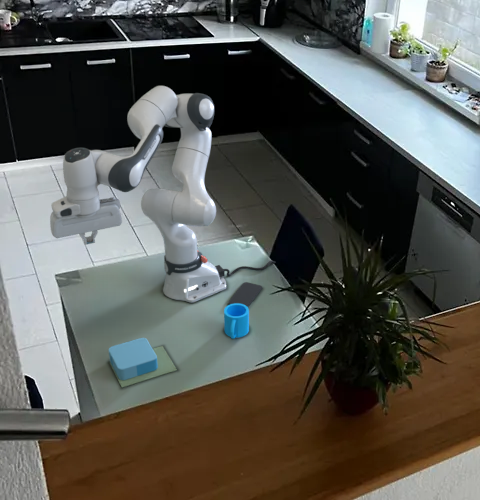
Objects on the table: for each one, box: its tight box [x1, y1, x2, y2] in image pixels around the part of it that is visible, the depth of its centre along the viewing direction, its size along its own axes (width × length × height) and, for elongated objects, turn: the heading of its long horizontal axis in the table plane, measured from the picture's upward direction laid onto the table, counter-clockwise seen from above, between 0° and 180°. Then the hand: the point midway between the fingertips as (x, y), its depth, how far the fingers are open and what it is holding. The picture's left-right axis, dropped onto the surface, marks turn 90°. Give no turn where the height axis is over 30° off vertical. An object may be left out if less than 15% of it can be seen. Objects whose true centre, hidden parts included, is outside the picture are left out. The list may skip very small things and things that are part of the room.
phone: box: [227, 281, 263, 308], centre depth 250 cm, size 7×1×15 cm
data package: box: [108, 337, 158, 380], centre depth 214 cm, size 12×4×12 cm
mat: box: [108, 345, 178, 389], centre depth 215 cm, size 17×13×1 cm
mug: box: [223, 303, 250, 340], centre depth 230 cm, size 12×8×8 cm
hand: (89, 242), depth 212 cm, fingers closed
